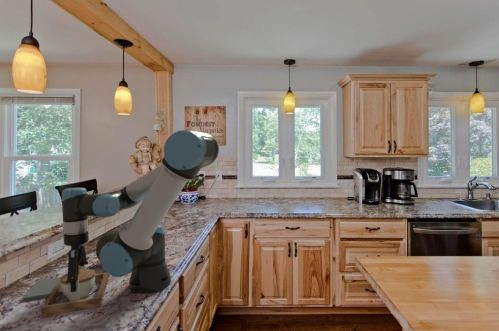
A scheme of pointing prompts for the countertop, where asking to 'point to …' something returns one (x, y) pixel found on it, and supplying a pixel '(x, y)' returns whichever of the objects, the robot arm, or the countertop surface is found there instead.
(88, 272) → the lidded jar
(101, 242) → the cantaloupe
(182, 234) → the countertop surface
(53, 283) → the trivet
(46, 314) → the pocket frame
